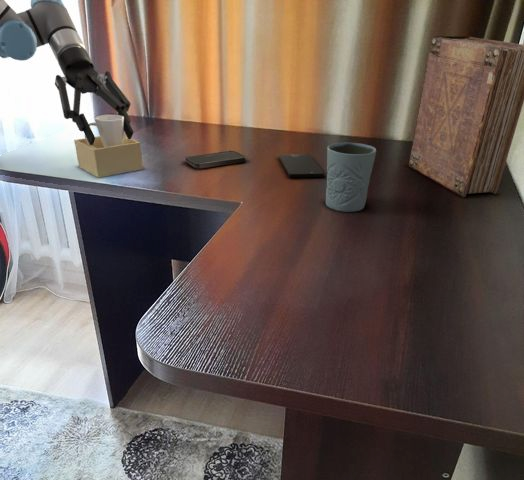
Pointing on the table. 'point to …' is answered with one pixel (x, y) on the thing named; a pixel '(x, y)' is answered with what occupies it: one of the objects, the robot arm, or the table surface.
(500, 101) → the book
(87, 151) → the tan open box
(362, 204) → the grey embossed tumbler
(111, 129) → the cup
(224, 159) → the phone
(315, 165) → the cell phone
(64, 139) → the table surface
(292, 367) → the table surface
